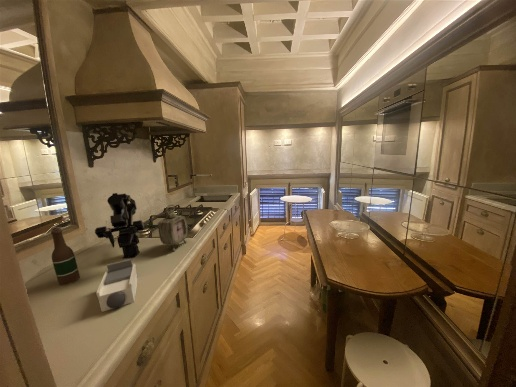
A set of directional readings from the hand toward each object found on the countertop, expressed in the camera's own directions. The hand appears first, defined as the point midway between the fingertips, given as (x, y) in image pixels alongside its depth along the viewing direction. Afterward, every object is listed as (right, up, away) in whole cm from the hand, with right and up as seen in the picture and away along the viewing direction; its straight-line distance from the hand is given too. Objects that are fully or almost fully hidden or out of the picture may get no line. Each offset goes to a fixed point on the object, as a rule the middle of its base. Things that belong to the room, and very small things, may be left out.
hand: (121, 245), depth 96 cm
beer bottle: (-23, -16, -1) cm, 28 cm away
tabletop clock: (+14, -8, +27) cm, 32 cm away
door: (+6, -9, -11) cm, 15 cm away
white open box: (+8, -16, -12) cm, 22 cm away
